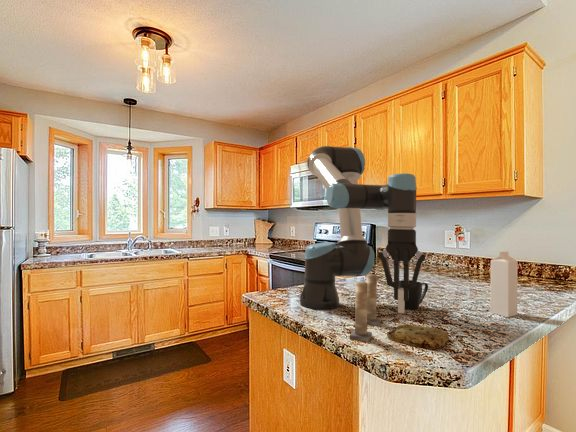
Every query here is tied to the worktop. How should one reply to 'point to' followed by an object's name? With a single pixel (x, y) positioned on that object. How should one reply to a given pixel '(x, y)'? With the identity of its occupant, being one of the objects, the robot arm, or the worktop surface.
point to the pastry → (419, 336)
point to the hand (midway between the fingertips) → (401, 311)
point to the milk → (503, 285)
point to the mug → (414, 295)
